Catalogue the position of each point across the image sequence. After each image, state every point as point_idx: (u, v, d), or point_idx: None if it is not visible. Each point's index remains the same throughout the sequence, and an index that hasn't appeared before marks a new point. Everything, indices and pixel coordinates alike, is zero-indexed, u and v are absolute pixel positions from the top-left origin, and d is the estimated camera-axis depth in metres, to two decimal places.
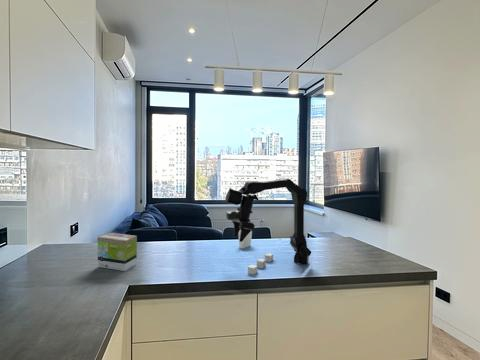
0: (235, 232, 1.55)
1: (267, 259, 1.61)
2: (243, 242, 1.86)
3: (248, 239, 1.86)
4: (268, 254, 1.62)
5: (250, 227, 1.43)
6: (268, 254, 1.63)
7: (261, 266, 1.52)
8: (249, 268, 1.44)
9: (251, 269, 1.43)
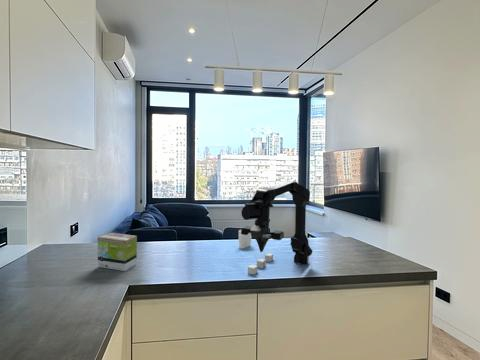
0: None
1: (267, 259, 1.61)
2: (243, 242, 1.86)
3: (248, 239, 1.86)
4: (268, 254, 1.62)
5: (282, 236, 1.39)
6: (268, 254, 1.63)
7: (261, 266, 1.52)
8: (249, 268, 1.44)
9: (251, 269, 1.43)
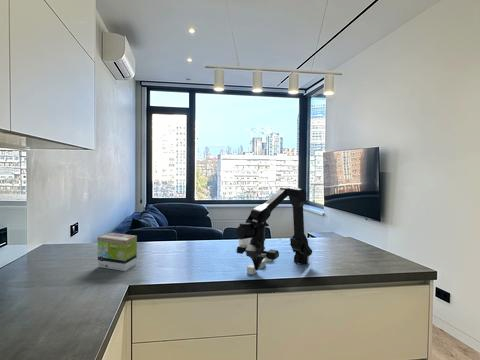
0: None
1: (267, 259, 1.61)
2: (243, 242, 1.86)
3: (248, 239, 1.86)
4: None
5: (277, 255, 1.40)
6: None
7: (261, 266, 1.52)
8: (248, 268, 1.44)
9: (250, 269, 1.43)
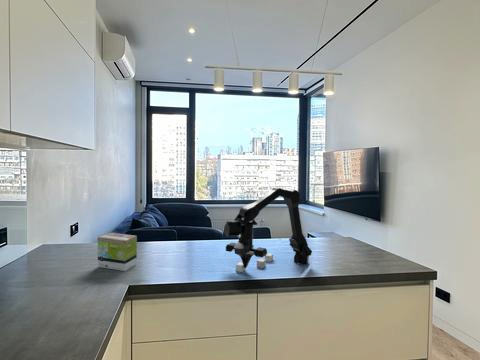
0: None
1: (267, 259, 1.61)
2: None
3: None
4: (268, 254, 1.62)
5: (265, 253, 1.43)
6: (268, 254, 1.63)
7: (261, 266, 1.52)
8: (237, 265, 1.46)
9: (239, 266, 1.46)
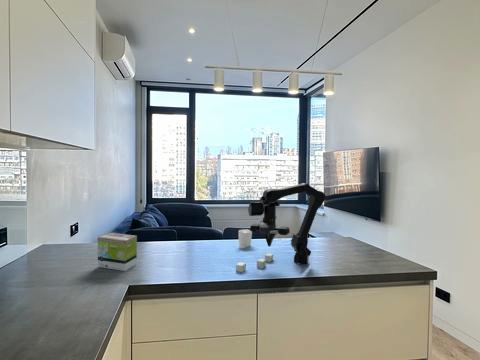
0: None
1: (267, 259, 1.61)
2: (243, 242, 1.86)
3: (248, 239, 1.86)
4: (268, 254, 1.62)
5: (288, 231, 1.53)
6: (268, 254, 1.63)
7: (261, 266, 1.52)
8: (237, 265, 1.46)
9: (240, 266, 1.46)
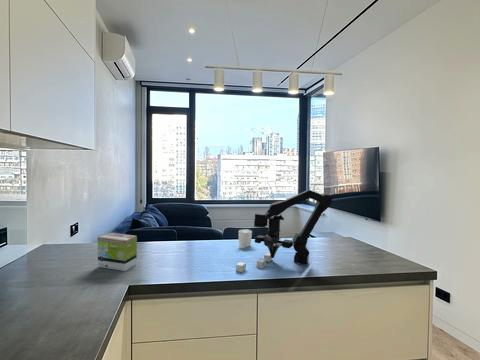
0: None
1: (266, 259, 1.61)
2: (243, 242, 1.86)
3: (248, 239, 1.86)
4: (267, 254, 1.62)
5: (291, 244, 1.58)
6: (267, 254, 1.63)
7: (261, 266, 1.52)
8: (237, 265, 1.46)
9: (240, 266, 1.46)
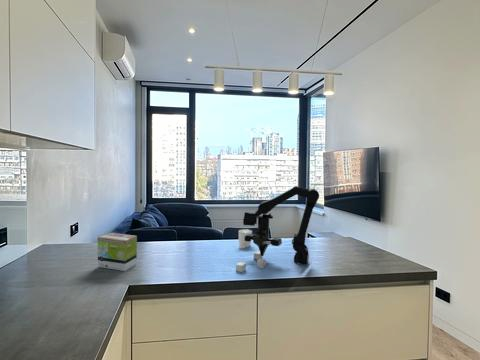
0: None
1: (256, 257, 1.64)
2: (243, 242, 1.86)
3: None
4: (257, 252, 1.65)
5: (280, 242, 1.61)
6: (257, 252, 1.66)
7: (261, 266, 1.52)
8: (237, 265, 1.46)
9: (240, 266, 1.46)
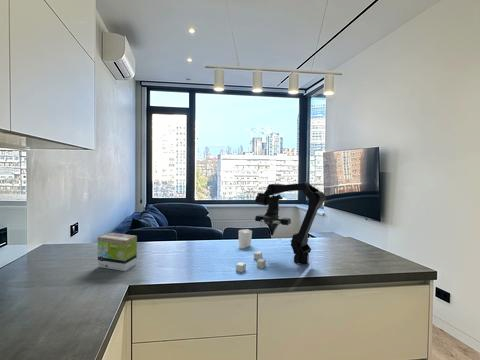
0: None
1: (256, 257, 1.64)
2: (243, 242, 1.86)
3: (248, 239, 1.86)
4: (257, 252, 1.65)
5: (289, 222, 1.68)
6: (257, 252, 1.66)
7: (261, 266, 1.52)
8: (237, 265, 1.46)
9: (240, 266, 1.46)
